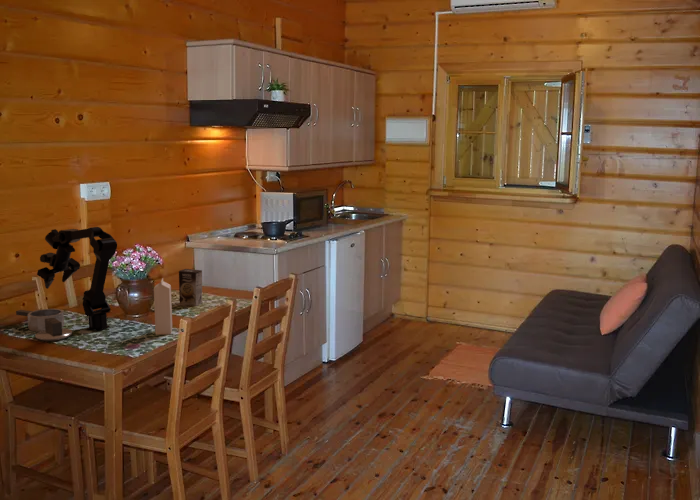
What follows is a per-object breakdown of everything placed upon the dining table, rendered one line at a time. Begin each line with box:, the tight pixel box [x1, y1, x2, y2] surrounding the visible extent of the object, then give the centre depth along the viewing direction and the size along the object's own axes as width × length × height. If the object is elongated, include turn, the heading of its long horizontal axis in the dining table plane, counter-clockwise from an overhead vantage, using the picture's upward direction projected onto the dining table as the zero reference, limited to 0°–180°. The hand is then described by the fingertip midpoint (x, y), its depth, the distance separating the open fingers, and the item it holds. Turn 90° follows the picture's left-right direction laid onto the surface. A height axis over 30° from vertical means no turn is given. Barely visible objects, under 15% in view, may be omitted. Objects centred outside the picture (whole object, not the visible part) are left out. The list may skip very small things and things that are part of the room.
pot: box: [15, 308, 65, 333], centre depth 278 cm, size 21×13×6 cm, turn 71°
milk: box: [153, 277, 173, 336], centre depth 270 cm, size 6×6×22 cm
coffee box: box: [178, 268, 203, 307], centre depth 317 cm, size 9×6×16 cm
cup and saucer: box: [34, 318, 73, 342], centre depth 264 cm, size 13×13×7 cm
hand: (55, 284), depth 291 cm, fingers open, 9 cm apart
